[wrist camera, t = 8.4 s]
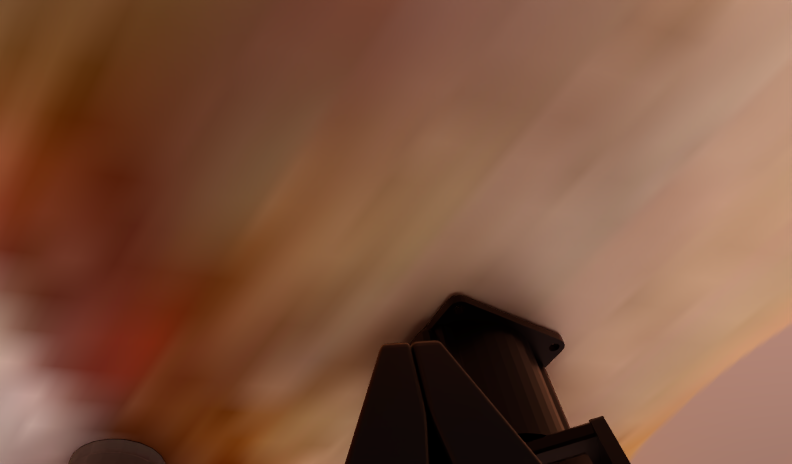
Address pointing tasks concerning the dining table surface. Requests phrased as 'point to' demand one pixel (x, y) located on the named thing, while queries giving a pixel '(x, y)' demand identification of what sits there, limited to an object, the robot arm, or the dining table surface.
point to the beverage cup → (115, 453)
